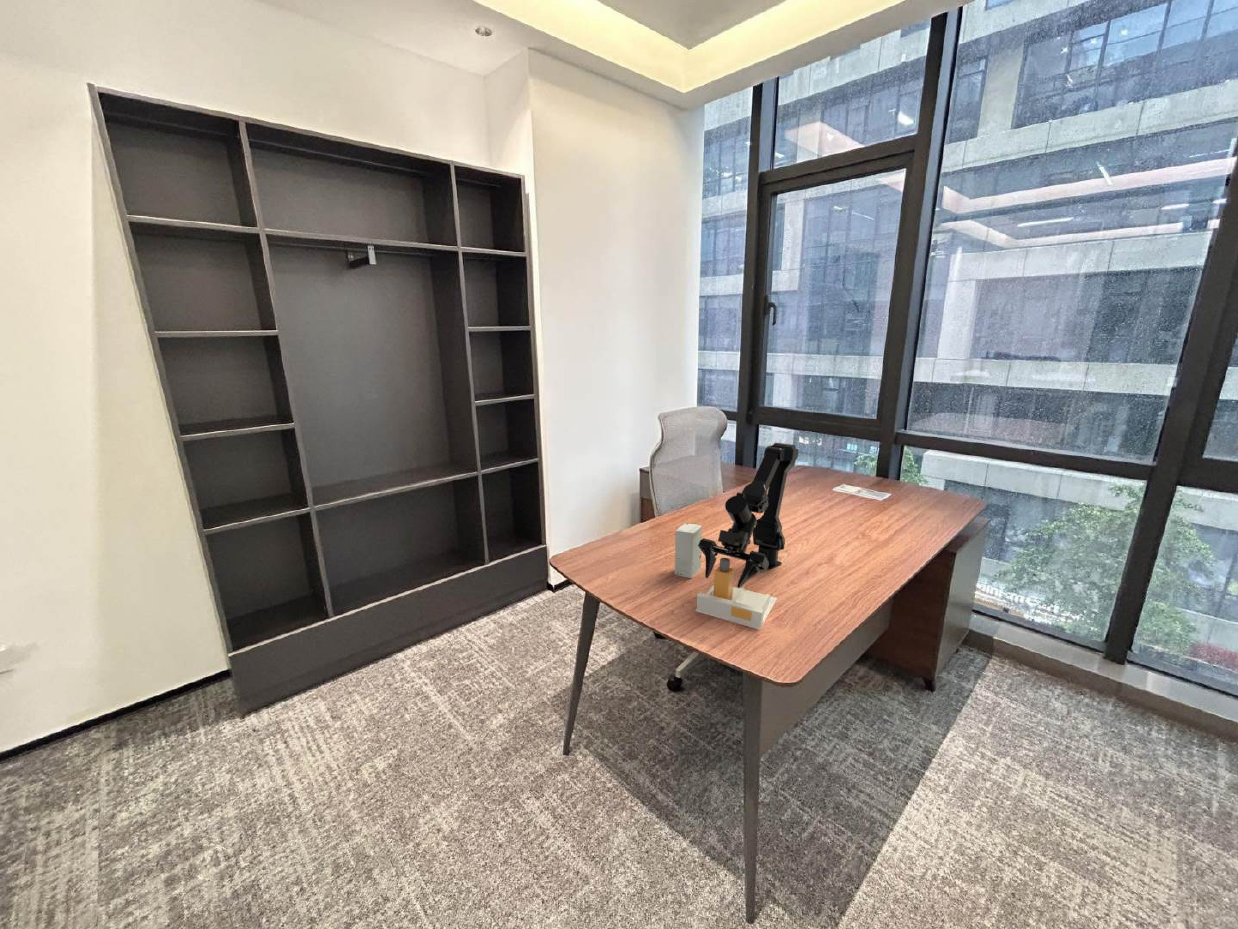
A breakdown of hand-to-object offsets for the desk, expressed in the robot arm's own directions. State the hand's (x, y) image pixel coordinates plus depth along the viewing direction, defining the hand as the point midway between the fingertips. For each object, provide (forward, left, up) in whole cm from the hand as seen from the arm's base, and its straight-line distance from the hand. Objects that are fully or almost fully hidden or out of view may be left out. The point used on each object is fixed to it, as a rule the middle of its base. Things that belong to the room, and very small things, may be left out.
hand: (721, 582), depth 132 cm
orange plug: (-1, 0, -7) cm, 7 cm away
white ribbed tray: (-4, +2, -7) cm, 9 cm away
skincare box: (-8, -20, -8) cm, 23 cm away
